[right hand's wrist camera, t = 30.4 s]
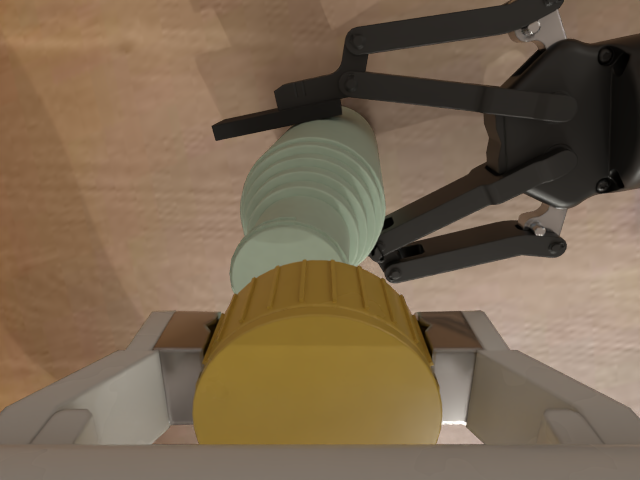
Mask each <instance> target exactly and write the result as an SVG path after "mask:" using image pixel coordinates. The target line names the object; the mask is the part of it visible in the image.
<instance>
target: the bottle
mask: <svg viewBox="0 0 640 480" xmlns="http://www.w3.org/2000/svg"><path fill="white" fill-rule="evenodd" d="M385 209H386V207H385V196H384V189H383V182H382V175H381V168H380V161H379V154H378V148H377V142H376V137H375V135H374V132H373V130H372V128H371V126H370V125H369V123H368V122H367V121H366V120H365V119H364V118H363V117H362V116H361V115H360V114H359V113H357V112H356V111H354V110H352V109H350V108H347V107H344V106H342V115H339V116H334V117H329V118H324V119H319V120H314V121H309V122H305V123H300V124H295V125H293V126H292V127H291V128H290V129H289V130H288V131H287V132H286V133H285V134H284V135H283V136H281V137H280V138H279V139H278V140H277V141H276V142H275V143H274V144H273V145H272V146H271V147H270V148H269V149H268V150H267V151H266V152H265V153H264V154H263V155H262V156H261V157H260V158H259V159H258V160H257V162H256V163H255V164H254V166H253V167H252V169H251V170H250V172H249V174H248V176H247V179H246V181H245V184H244V188H243V192H242V197H241V204H240V215H241V222H242V227H243V231H244V235H245V237H244V238H243V239H242V240H241V242H240V243H239V244H238V246H237V248H236V250H235V253H234V255H233V257H232V259H231V267H230V280H231V286H232V287H231V288H232V290H233V292H234V294H235V293H236V294H238V293H239V292H240V291H241V290H242V289H243V288H244V287H245V286H246V285H247V284H248V283H250V282H251V280H252V278H254V277H255V278H257V277H258V276H260V275H262V274H264V273H266V272H268V271H270V270H272V269H274V268H275V267H276V266H278V265H279V266H282V265H286V264H289V263H293V262H299V261H302V260H304V259H306V260H307V261H308V260H328V261H331V260H335V261H336V262H342V263H346V264H350V265H353V266H357V265H359V264H360V263H361V262H362V261H363V260H364V259H365V258H366V257H367V256H368V255H369V253H370V252H371V251H372V249H373V248H374V246H375V244H376V242H377V240H378V237H379V235H380V233H381V230H382V227H383V224H384V219H385Z"/></svg>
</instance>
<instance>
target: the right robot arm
mask: <svg viewBox="0 0 640 480" xmlns="http://www.w3.org/2000/svg"><path fill="white" fill-rule="evenodd" d="M220 316H221V312H203V311H154V312H152V313H151V314H150V315H149V317H148V318H147V320H146V321H145V323H144V324H143V325H142V327H141V328H140V330H139V331H138V333H137V334H136V335H135V337H134V338H133V340H132V341H131V343H130V344H129V345H128V347H127V348H126V350H118V351H116V352H114V353H112V354H110V355H108V356H106V357H104V358H102V359H100V360H98V361H96V362H94V363H92V364H90V365H88V366H86V367H84V368H82V369H80V370H78V371H76V372H74V373H72V374H70V375H68V376H66V377H64V378H62V379H60V380H58V381H56V382H54V383H53V384H51V385H49V386H47V387H45V388H43V389H41V390H39V391H37V392H35V393H33V394H31V395H29V396H27V397H25V398H23V399H21V400H19V401H17V402H15V403H13V404H11V405H9V406H7V407H5V408H4V409H3V411H2V412H1V413H0V480H640V418H639V417H638V416H637V415H636V414H635V413H634V412H633V411H632V410H631V409H630V408H629V407H627V406H625V405H623V404H621V403H619V402H617V401H615V400H614V399H612V398H610V397H608V396H606V395H604V394H602V393H600V392H598V391H596V390H594V389H592V388H590V387H588V386H586V385H584V384H582V383H580V382H578V381H576V380H575V379H573V378H571V377H569V376H567V375H565V374H563V373H561V372H559V371H557V370H555V369H553V368H551V367H549V366H547V365H545V364H543V363H541V362H539V361H537V360H535V359H534V358H532V357H530V356H528V355H526V354H524V353H522V352H520V351H518V350H510V349H509V347H508V346H507V344H506V343H505V342H504V340H503V339H502V337H501V336H500V334H499V333H498V331H497V330H496V329H495V327H494V326H493V324H492V323H491V321H490V320H489V318H488V317H487V315H486V314H485V313H484V312H483V311H481V310H480V311H442V312H416V313H415V316H416V318H417V321H418V324H419V326H420V329H421V332H422V335H423V337H424V340H425V343H426V345H427V348H428V351H429V353H430V356H431V359H432V362H433V364H434V365H433V366H431V369H432V371H433V374H434V377H435V379H437V381H438V384H439V386H440V390H439V391H440V396H441V401H442V423H441V424H443V425H466V427H467V428H468V429H469V430H470V431H471V432H472V433H473V434H474V435H475V436H476V437H477V438H478V439H480V440H481V441H482V442H483V443H484V444H152V443H153V442H154V441H155V440H157V439H158V438H159V437H160V436H161V435H162V434H163V433H164V432H165V431H166V430H167V429H168V428H170V425H192V424H193V416H192V409H193V398H194V394H195V389H196V388H195V386H196V382H197V380H198V378H200V376H201V373H202V371H203V368H204V366H205V365H204V364H202V361H203V359H204V356H205V354H206V351H207V349H208V346H209V344H210V341H211V339H212V336H213V334H214V331H215V329H216V326H217V324H218V321H219V319H220Z"/></svg>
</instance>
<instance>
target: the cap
mask: <svg viewBox="0 0 640 480" xmlns="http://www.w3.org/2000/svg"><path fill="white" fill-rule="evenodd" d="M202 364H204V365H205V366H204V368H203V371H202V373H201V376H200V378H198V380H197V382H196V386H195V388H196V389H195V394H194V398H193V409H192V416H193V425H194V430H195V433H196V437H197V440H198V442H199V444H436V443H437V440H438V437H439V433H440V430H441V423H442V401H441V396H440V391H439V390H440V386H439V384H438V381H437V379H435V377H434V374H433V371H432V369H431V366H433V365H434V364H433V362H432V359H431V356H430V353H429V351H428V348H427V345H426V343H425V340H424V337H423V335H422V332H421V329H420V326H419V324H418V321H417V318H416V316H415V314H414V315H412V314H411V312H410V310H409V308H408V306H407V305H406V302H405V299H404V297H403V295H402V294H401V295H399V294H398V293H397V292H396V291H395V290H394V289H393V288H392V287H391V286H390V285H389V284H387V283H386V281H385V279H384V278H381V279H380V278H379V277H377V276H376V275H374V274H372V273H370V272H368V271H366V270H364V269H362V267H361V266H358V267H356V266H353V265H350V264H346V263H342V262H336V261H335V260H331V261H328V260H308V261H307V260H306V259H304V260H302V261H299V262H293V263H289V264H286V265H282V266H279V265H278V266H276V267H275V268H274V269H272V270H270V271H268V272H266V273H264V274H262V275H260V276H258V277H257V278H255V277H254V278H252V280H251V282H250V283H248V284H247V285H246V286H245V287H244V288H243V289H242V290H241V291H240V292H239V293H238V294H236V293H235V294H234V295H233V297H232V300H231V303H230V305H229V307H228V308H227V310H226V312H225V314H223V313H222V314H221V316H220V319H219V321H218V324H217V326H216V329H215V331H214V334H213V336H212V339H211V341H210V344H209V346H208V349H207V351H206V354H205V356H204V359H203V361H202Z"/></svg>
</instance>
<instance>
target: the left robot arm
mask: <svg viewBox="0 0 640 480" xmlns="http://www.w3.org/2000/svg"><path fill="white" fill-rule="evenodd" d="M563 2H564V0H510V1H508V2H506V3H504V4H502V5H500V6H494V7H487V8H480V9H474V10H467V11H460V12H454V13H447V14H440V15H434V16H427V17H421V18H414V19H407V20H401V21H394V22H387V23H381V24H374V25H367V26H361V27H356V28H353V29H351V30H350V31H349V32H348V34H347V36H346V38H345V44H344V50H343V57H342V62H341V65H340V67H339V68H338V69H337V71H335V72H334V73H332V74H328V75H324V76H319V77H315V78H310V79H305V80H301V81H296V82H292V83H287V84H284V85H282V86H281V87H279V88H278V89H277V90H275V91H274V93H275V98H276V102H277V106H278V108H276V109H271V110H267V111H262V112H257V113H252V114H248V115H243V116H238V117H234V118H229V119H224V120H222V121H220V122H218V123H216V124H215V125H213V126H212V129H213V133H214V136H215V140H216V141H218V140H223V139H227V138H232V137H237V136H242V135H247V134H252V133H256V132H261V131H266V130H271V129H276V128H281V127H285V126H290V125H295V124H300V123H305V122H309V121H314V120H319V119H324V118H329V117H334V116H339V115H342V106H341V101H340V99H342V98H346V97H353V98H361V99H370V100H379V101H388V102H396V103H405V104H414V105H423V106H431V107H440V108H449V109H458V110H466V111H475V112H480V113H483V114H484V125H485V127H486V130H487V133H488V136H489V142H488V147H487V152H486V155H487V162H486V163H484V164H482V165H480V166H478V167H476V168H474V169H472V170H471V171H470V173H469V174H468V175H466V176H464V177H462V178H460V179H458V180H456V181H454V182H452V183H450V184H448V185H446V186H444V187H442V188H440V189H438V190H436V191H434V192H432V193H430V194H428V195H426V196H424V197H422V198H420V199H419V200H417V201H415V202H413V203H411V204H409V205H407V206H405V207H403V208H401V209H399V210H397V211H395V212H393V213H391V214H389V215H387V216H385V219H384V224H383V227H382V230H381V233H380V235H379V237H378V240H377V242H376V244H375V246H374V248H373V249H372V251H371V252H370V253H369V255H368V256H370V258H371V259H372V260H373V261H375V262H378V264H379V266H380V267H381V269H382V270H383V272H384V274H385V277H386V279H387V280H388V281H389V282H391V283H401V282H405V281H409V280H414V279H418V278H423V277H427V276H431V275H436V274H440V273H445V272H449V271H454V270H458V269H462V268H467V267H471V266H476V265H480V264H484V263H489V262H493V261H498V260H502V259H507V258H511V257H515V256H520V255H527V256H538V257H550V258H555V257H559V256H561V255H562V254H563V253H564V252H565V250H566V247H567V244H566V241H565V240H564V239H562V238H561V237H560V232H561V229H562V226H563V222H564V219H565V215H566V212H567V209H569V208H572V207H574V206H576V205H578V204H580V203H581V202H582V201H584V200H586V199H587V198H589V197H591V196H594V195H597V194H604V193H613V192H621V191H626V190H632V189H638V188H640V33H639V34H635V35H630V36H625V37H620V38H616V39H611V40H606V41H602V42H597V43H591V44H589V43H584V42H581V41H578V40H575V39H567V37H566V34H565V31H564V27H563V24H562V21H561V17H560V14H559V11H558V8H560V6H561V5H562V3H563ZM505 33H508V34H509V37H510V38H511V40H513V41H514V42H517V43H522V42H529V41H531V42H533V43H535V44H536V45H537V47H538V50H537V51H536V52H535V53H534V54H533V55H532V56H531V57H530V58H529V59H528V60H527V61H526V62H525V63H524V64H523V65H522V66H521V67H520V68H519V69H518V70H517V71H516V72H515V73H514V74H513V75H512V76H511V77H510V78H509V79H508V80H507V81H506V82H505V83H503V84H502V85H501V86H500V87H498V86H489V85H480V84H471V83H462V82H453V81H444V80H435V79H427V78H418V77H409V76H400V75H392V74H383V73H374V72H366V65H367V59H368V54H372V53H378V52H385V51H392V50H399V49H406V48H413V47H420V46H427V45H434V44H441V43H448V42H455V41H461V40H468V39H475V38H482V37H488V36H495V35H500V34H505ZM522 193H524V194H526V195H528V196H530V197H532V198H534V199H537V200H539V201H541V202H542V204H541V206H540V207H539V208H538V209H537V210H535V211H532V212H526V213H523V214H521V215H520V216H519V220H518V221H516V220H510V221H501V222H495V223H491V224H487V225H483V226H479V227H474V228H470V229H466V230H462V231H458V232H453V233H449V234H445V235H441V236H437V237H432V238H428V239H424V240H420V241H416V240H418V239H420V238H422V237H424V236H426V235H428V234H430V233H432V232H434V231H436V230H438V229H441V228H443V227H445V226H447V225H449V224H451V223H453V222H455V221H457V220H459V219H461V218H463V217H465V216H467V215H470V214H472V213H474V212H476V211H478V210H480V209H482V208H484V207H486V206H488V205H497V204H501V203H503V202H505V201H508V200H510V199H512V198H514V197H516V196H518V195H520V194H522ZM414 241H416V242H414Z"/></svg>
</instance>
